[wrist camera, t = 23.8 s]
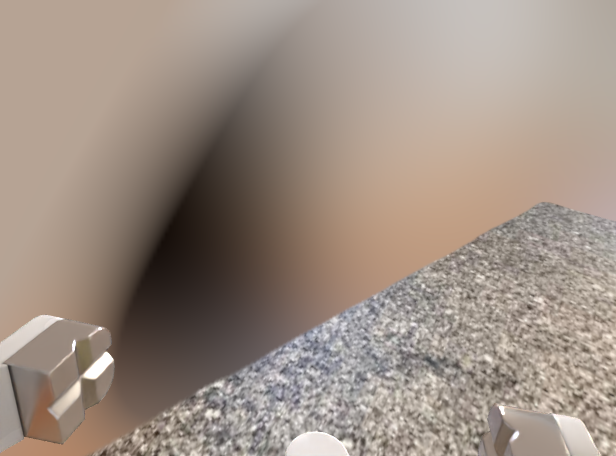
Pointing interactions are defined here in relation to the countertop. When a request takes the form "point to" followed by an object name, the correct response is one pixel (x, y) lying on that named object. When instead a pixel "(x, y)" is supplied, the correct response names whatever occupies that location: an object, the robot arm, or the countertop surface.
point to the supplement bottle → (316, 445)
